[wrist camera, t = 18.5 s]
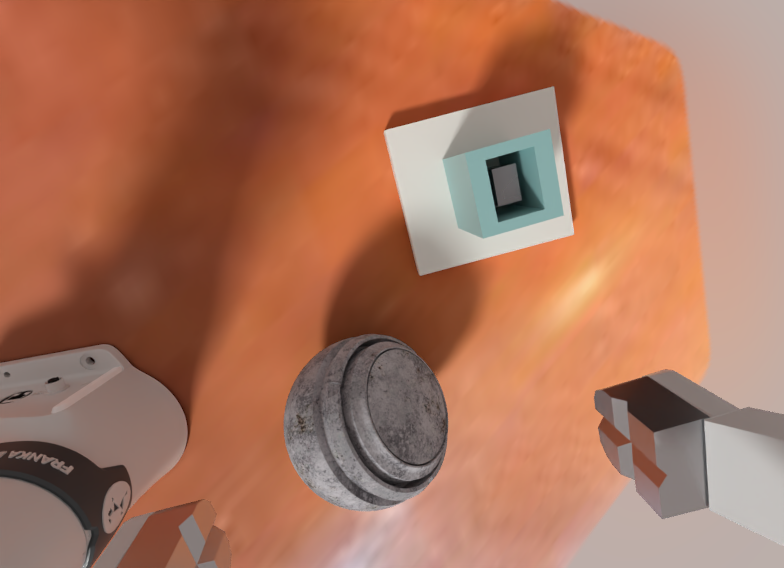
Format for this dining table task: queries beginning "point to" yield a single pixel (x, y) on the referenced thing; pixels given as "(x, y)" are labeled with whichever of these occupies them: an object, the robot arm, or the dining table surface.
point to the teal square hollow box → (534, 181)
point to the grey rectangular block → (504, 184)
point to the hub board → (475, 131)
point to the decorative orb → (366, 423)
